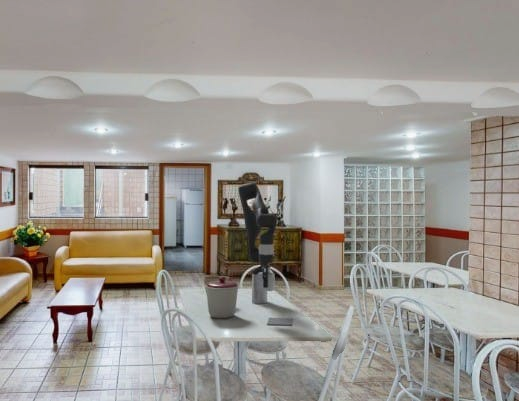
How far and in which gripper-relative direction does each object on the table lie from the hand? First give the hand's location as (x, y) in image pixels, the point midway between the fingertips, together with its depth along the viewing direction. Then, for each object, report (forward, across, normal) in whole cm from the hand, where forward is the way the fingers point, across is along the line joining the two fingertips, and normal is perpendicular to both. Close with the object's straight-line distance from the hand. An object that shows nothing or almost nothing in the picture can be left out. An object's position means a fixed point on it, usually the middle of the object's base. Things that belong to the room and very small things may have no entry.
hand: (266, 286), depth 218 cm
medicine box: (+2, 0, 0) cm, 2 cm away
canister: (+18, -6, -24) cm, 31 cm away
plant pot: (+18, -32, -33) cm, 49 cm away
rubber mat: (+18, +1, +7) cm, 19 cm away
